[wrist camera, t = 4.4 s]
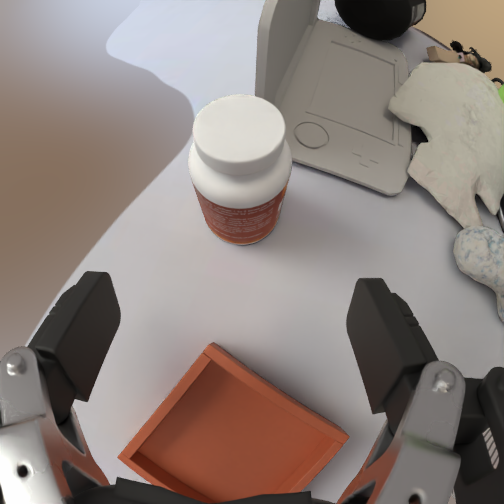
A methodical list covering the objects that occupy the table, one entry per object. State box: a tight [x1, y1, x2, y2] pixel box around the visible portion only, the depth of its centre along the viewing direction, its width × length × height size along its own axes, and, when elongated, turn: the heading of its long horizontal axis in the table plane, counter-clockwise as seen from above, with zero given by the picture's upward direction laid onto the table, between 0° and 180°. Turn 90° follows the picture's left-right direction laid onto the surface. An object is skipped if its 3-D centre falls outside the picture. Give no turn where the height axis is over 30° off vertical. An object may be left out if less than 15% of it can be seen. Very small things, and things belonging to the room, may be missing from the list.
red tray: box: [118, 342, 349, 503], centre depth 18 cm, size 13×13×2 cm
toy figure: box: [426, 41, 491, 74], centre depth 29 cm, size 7×6×15 cm
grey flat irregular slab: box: [388, 62, 504, 229], centre depth 25 cm, size 18×5×30 cm
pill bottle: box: [188, 94, 292, 245], centre depth 19 cm, size 6×6×11 cm
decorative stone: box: [453, 226, 504, 322], centre depth 20 cm, size 13×7×5 cm, turn 63°
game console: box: [255, 0, 411, 196], centre depth 21 cm, size 28×15×15 cm, turn 161°
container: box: [335, 0, 426, 40], centre depth 27 cm, size 12×12×18 cm
